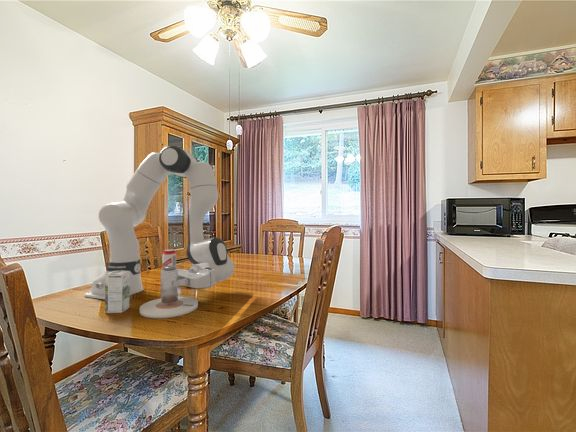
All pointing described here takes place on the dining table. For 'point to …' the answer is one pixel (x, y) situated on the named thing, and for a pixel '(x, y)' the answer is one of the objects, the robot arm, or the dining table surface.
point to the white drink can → (169, 284)
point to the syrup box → (117, 291)
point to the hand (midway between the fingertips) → (167, 282)
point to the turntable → (168, 308)
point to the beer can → (169, 257)
